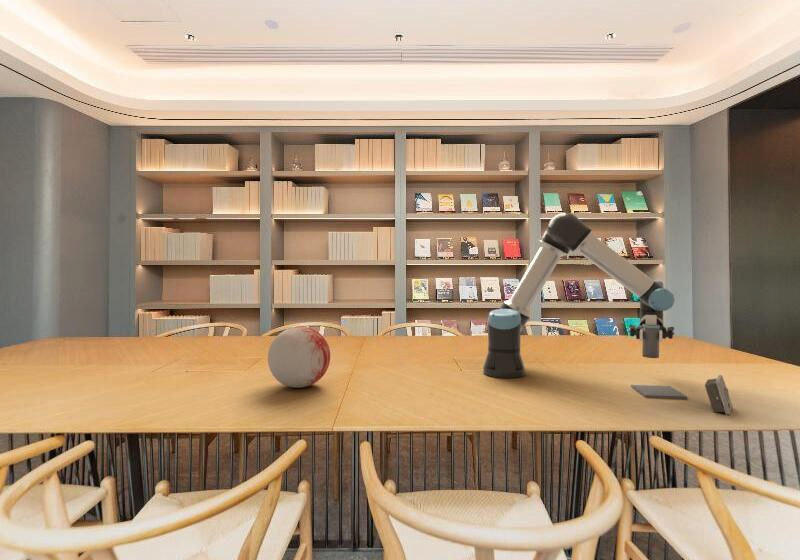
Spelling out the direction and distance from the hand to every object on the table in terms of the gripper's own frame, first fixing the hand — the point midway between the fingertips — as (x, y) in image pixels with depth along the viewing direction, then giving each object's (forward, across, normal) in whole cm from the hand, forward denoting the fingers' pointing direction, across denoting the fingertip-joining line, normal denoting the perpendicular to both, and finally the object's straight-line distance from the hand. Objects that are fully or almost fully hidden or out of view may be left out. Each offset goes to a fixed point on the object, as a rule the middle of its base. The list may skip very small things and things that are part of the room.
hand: (650, 336), depth 142 cm
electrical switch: (+3, -17, -19) cm, 26 cm away
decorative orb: (+40, +103, -18) cm, 112 cm away
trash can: (-5, 0, -7) cm, 9 cm away
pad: (-8, -2, -19) cm, 21 cm away
